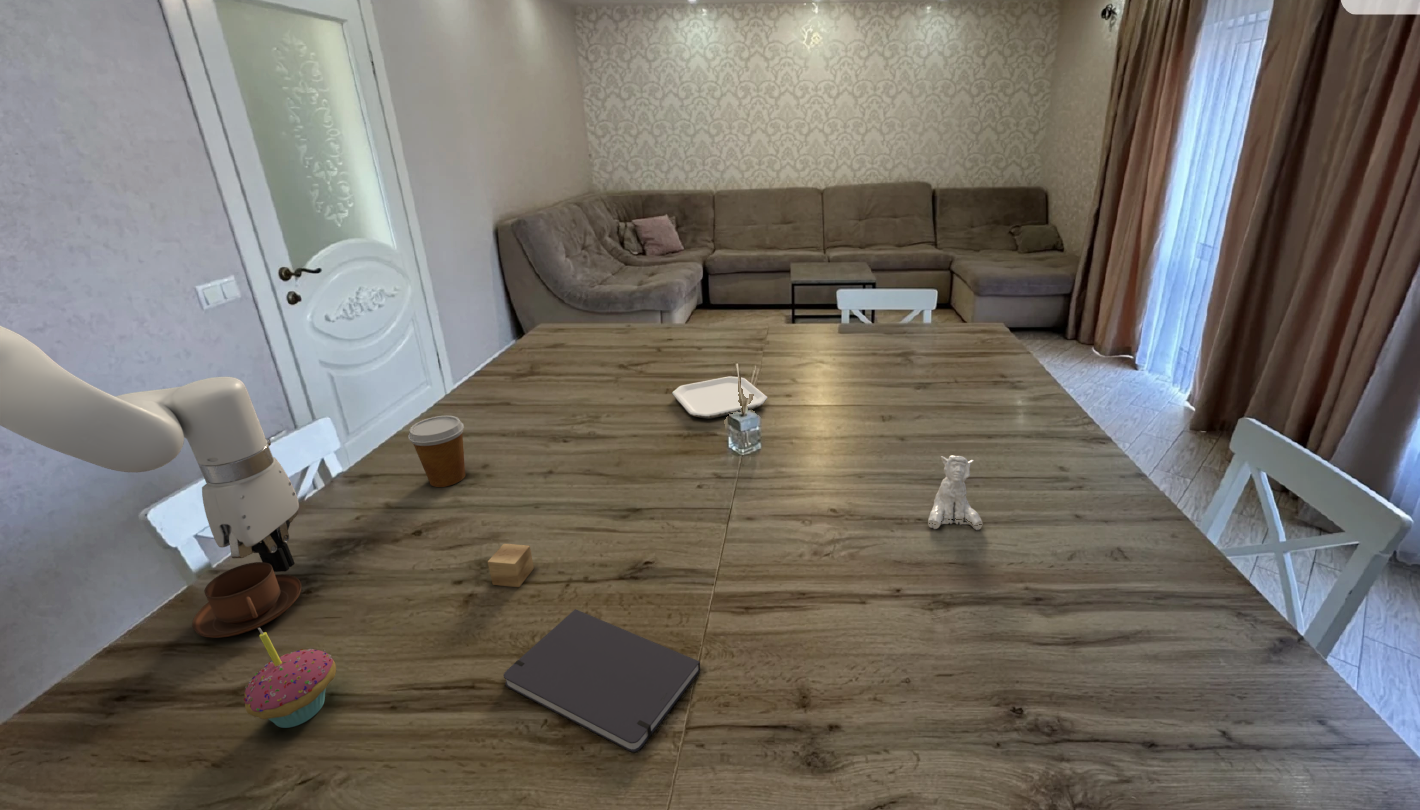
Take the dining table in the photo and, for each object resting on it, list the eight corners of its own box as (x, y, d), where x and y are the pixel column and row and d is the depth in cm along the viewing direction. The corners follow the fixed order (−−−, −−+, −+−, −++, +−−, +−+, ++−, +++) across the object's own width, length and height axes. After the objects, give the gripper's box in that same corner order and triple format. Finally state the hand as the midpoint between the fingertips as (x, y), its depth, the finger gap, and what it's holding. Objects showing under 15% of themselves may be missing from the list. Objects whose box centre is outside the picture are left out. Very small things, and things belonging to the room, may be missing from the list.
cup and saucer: (323, 596, 92) (312, 562, 89) (231, 656, 81) (215, 620, 79) (271, 577, 96) (259, 544, 93) (176, 632, 85) (160, 596, 83)
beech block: (519, 587, 93) (514, 564, 92) (492, 585, 94) (487, 561, 92) (534, 568, 97) (529, 545, 96) (508, 566, 98) (503, 543, 96)
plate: (668, 395, 161) (668, 387, 160) (740, 381, 170) (740, 373, 169) (695, 426, 144) (694, 418, 143) (773, 408, 153) (773, 400, 152)
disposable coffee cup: (480, 479, 122) (468, 426, 118) (426, 497, 116) (412, 441, 112) (466, 461, 129) (455, 410, 125) (415, 477, 123) (401, 424, 119)
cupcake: (237, 731, 71) (202, 652, 67) (310, 673, 78) (283, 598, 74) (292, 751, 69) (258, 670, 64) (361, 689, 76) (336, 614, 72)
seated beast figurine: (928, 530, 106) (933, 470, 102) (919, 502, 114) (924, 445, 110) (982, 531, 106) (990, 471, 102) (970, 503, 114) (977, 446, 110)
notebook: (700, 670, 79) (576, 617, 87) (700, 661, 78) (575, 608, 87) (636, 755, 68) (502, 684, 77) (635, 745, 67) (500, 675, 76)
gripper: (255, 438, 93) (293, 537, 100) (160, 494, 79) (213, 605, 86) (304, 437, 93) (339, 536, 100) (218, 493, 79) (266, 604, 86)
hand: (280, 568), depth 93 cm, fingers closed
